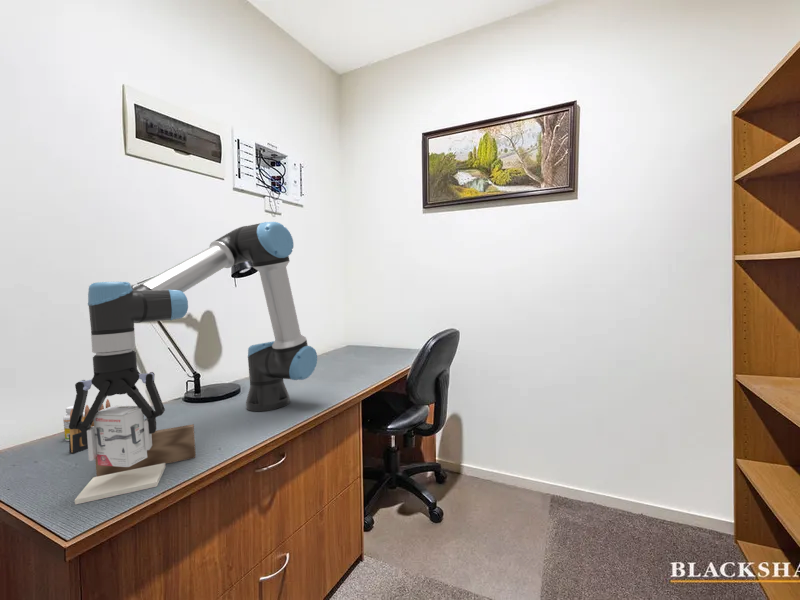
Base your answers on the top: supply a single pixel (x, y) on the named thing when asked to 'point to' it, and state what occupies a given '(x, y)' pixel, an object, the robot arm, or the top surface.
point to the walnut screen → (161, 449)
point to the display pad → (121, 483)
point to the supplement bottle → (68, 422)
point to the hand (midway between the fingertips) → (121, 452)
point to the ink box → (120, 436)
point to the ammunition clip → (75, 434)
